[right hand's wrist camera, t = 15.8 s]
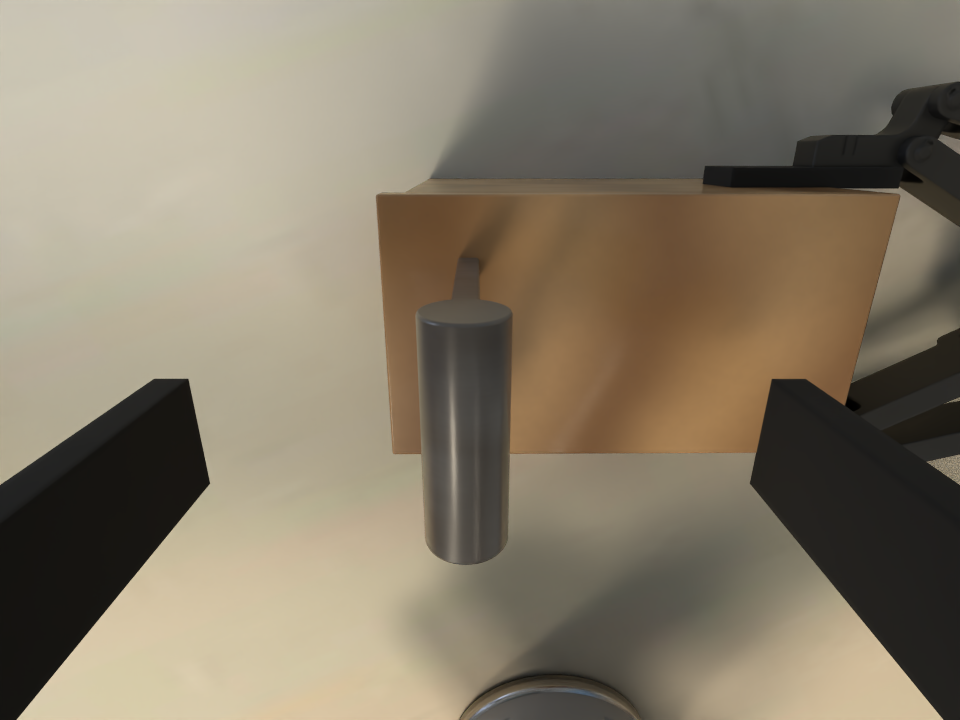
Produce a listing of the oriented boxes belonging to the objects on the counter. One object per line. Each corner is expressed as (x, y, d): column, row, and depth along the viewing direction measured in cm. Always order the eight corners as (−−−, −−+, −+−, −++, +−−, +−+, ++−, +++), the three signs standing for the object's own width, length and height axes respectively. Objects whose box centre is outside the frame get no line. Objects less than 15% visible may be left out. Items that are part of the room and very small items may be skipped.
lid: (395, 443, 21) (344, 628, 13) (380, 192, 18) (297, 225, 10) (819, 441, 22) (1037, 623, 13) (882, 192, 18) (1229, 224, 10)
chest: (434, 351, 31) (414, 442, 21) (428, 178, 28) (403, 192, 18) (710, 350, 32) (818, 440, 22) (737, 178, 28) (881, 192, 18)
